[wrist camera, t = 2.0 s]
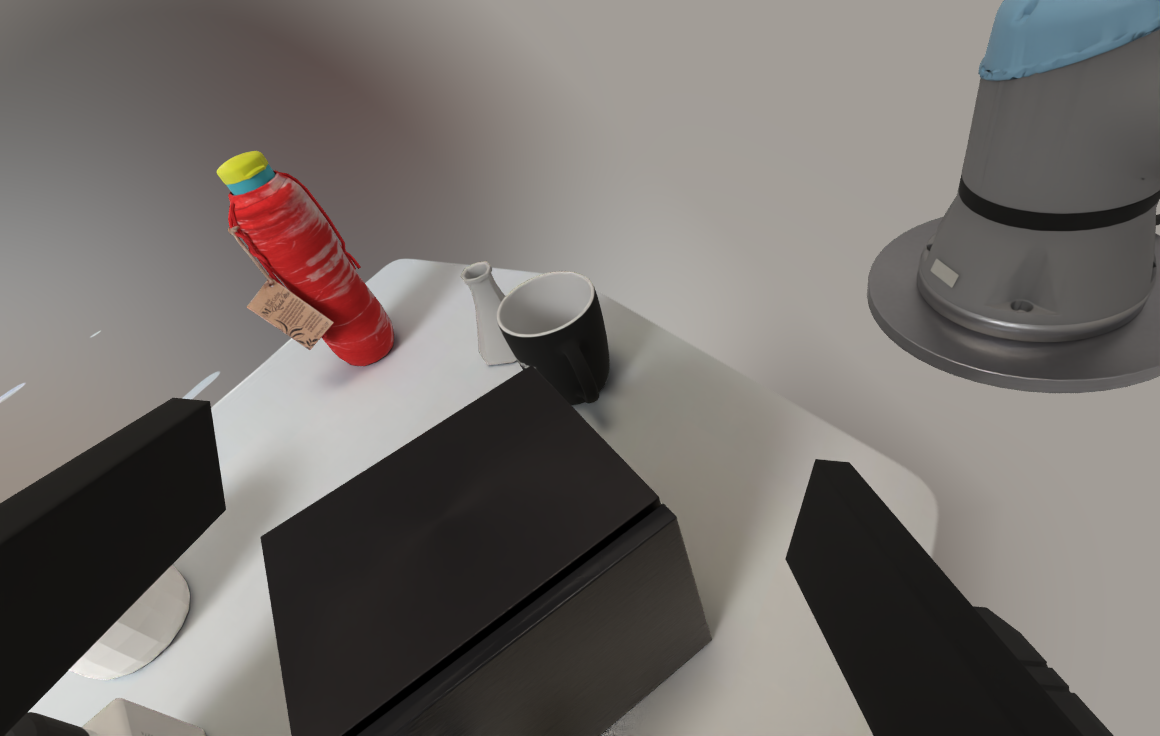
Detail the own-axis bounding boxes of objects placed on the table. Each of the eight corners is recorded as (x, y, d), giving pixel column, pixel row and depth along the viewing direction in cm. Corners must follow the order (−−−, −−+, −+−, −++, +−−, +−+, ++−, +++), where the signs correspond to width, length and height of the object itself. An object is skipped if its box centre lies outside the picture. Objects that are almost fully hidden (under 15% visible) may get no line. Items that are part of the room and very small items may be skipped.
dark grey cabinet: (699, 624, 36) (659, 497, 26) (456, 828, 32) (296, 769, 22) (591, 495, 45) (531, 364, 35) (392, 639, 41) (259, 536, 31)
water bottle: (347, 402, 63) (183, 202, 46) (309, 386, 67) (146, 198, 50) (419, 332, 69) (297, 134, 52) (379, 322, 73) (255, 135, 57)
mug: (522, 375, 58) (485, 299, 51) (599, 338, 59) (572, 258, 52) (561, 454, 49) (522, 374, 42) (651, 408, 50) (627, 323, 43)
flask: (481, 375, 60) (441, 302, 53) (478, 334, 65) (441, 264, 58) (545, 353, 59) (513, 277, 53) (537, 314, 65) (506, 241, 58)
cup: (144, 567, 53) (52, 512, 46) (221, 574, 50) (134, 516, 43) (61, 676, 46) (-59, 630, 40) (144, 692, 43) (29, 646, 37)
